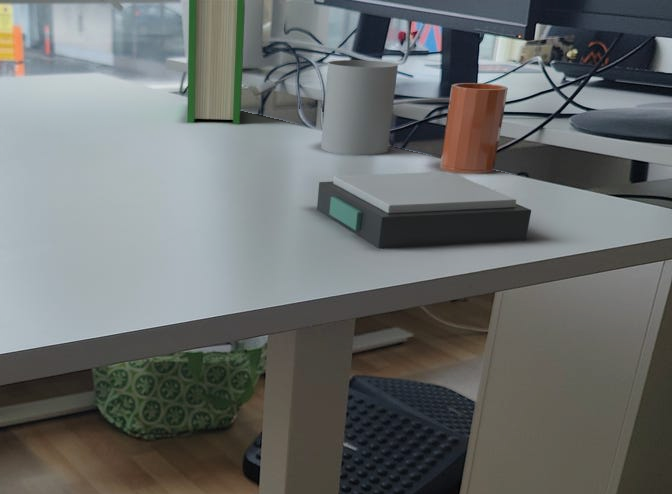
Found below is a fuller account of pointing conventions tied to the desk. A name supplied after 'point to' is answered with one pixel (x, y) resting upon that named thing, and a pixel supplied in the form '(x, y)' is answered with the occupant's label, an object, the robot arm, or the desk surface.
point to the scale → (421, 210)
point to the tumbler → (473, 127)
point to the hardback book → (215, 59)
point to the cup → (358, 106)
